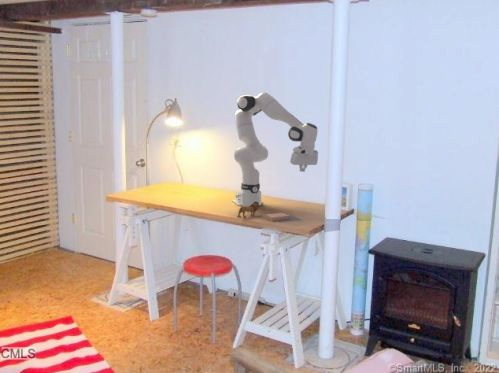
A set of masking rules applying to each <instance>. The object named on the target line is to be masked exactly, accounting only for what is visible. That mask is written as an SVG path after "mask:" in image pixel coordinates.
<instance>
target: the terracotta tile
mask: <svg viewBox="0 0 499 373" xmlns="http://www.w3.org/2000/svg"><path fill="white" fill-rule="evenodd" d="M287 214H288V213H287ZM287 214H286V213H284V212H278V213H268V214H264V218H265V219H266V220H269V221H271V222H277V220H285V219H289V215H290V214H289V215H287Z"/></svg>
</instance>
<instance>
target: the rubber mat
mask: <svg viewBox="0 0 499 373" xmlns="http://www.w3.org/2000/svg"><path fill="white" fill-rule="evenodd" d="M285 214H287V215H289V219H285V220H277V221H276V222H277V223H280V224H281V223H290V222H298V221H299V222H300V221H303V219H302V218H299V217H297V216H294V215H292V214H290V213H285Z"/></svg>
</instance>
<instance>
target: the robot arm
mask: <svg viewBox="0 0 499 373" xmlns="http://www.w3.org/2000/svg"><path fill="white" fill-rule="evenodd" d="M236 105H237V108H238V110H237V111H236V112H235V114H234V115H235V116H234V119H235V121H234V122H235V126H236V131H237V136H238V139H239V140H240V142H242V143H244V145H246V146H240V147H238V148H236V149H235V150H234V153H233V157H234V161H235V162H237V163H238V164H239V167H240V168H241V173H242V183H241V184H240V185H241V186H240V189H239V190H238V191H237V192H236V194H235V199H232V203H234V204H236V206H240V207H242V206H251V205H252V204H253V202H255V201H257V202H259V206H261V205H262V204H264V202H263V201H262V191H261V190H260V189H261V184H260V171H259V169H256V167H255V164H254V163H260V162H263V161H265V160H267V158H268V156H269V151H268V148H267V147H266V146H264V145H263V144H262V143H261V141H260V140H259V138H258V137H257V135H256V130H255V128H254V123H253V116H256V115H257V114H259V113H260V112H263V113H264V115H266V116H267V117H269V118H270V119H271V120H275V121H281V122H284V123H285V124H287V125H288V126H289V127H290V128H289V129H288V133H287V135H288V138H289V140H290V141H292V142H300V145H298V146H296V147H293V148H292V151H293V152H292V153H291V156H290V164H291V165H294V166H298V167H299V172H302V173H303V172H305V171H306V169H307V167H308V166H316V165H317V164H318V161H319V160H318V159H319V152H318V150H315V146H316V141H317V138H318V131H319V130H318V129H319V128H318V127H317V126H316V125H315V124H313V123H311V122H306V123H305V124H304V123H303V122H301V121H300V120H299V119H298V118H297V117H296V116H294V115H293V114H292V113H291V112H290V111H288V110H287V108H285V107H284V106H283V105H282V104H281V103H280V102H279V101H278V100H277V99H276V98H274V97H273V96H272V95H271V94H269V93H268V92H261V93H259V94H258V95H257V96H255V95H250V94H245V95H240V97H239V98H238V99H237V102H236Z"/></svg>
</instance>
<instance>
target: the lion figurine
mask: <svg viewBox="0 0 499 373" xmlns="http://www.w3.org/2000/svg"><path fill="white" fill-rule="evenodd" d="M259 207H260V205H259V202H257V201H255V202H253V204H252V205H251V206H240V208H239V209H238V213H237V214H238V215H237V216H236V217H237V218H238V217H241V214H242V216H243V217H244V218H247V216H246V215H245V213H250V216H253V217H255V216H256V215H255V214H256V212H257V211H258V210H259Z"/></svg>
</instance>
